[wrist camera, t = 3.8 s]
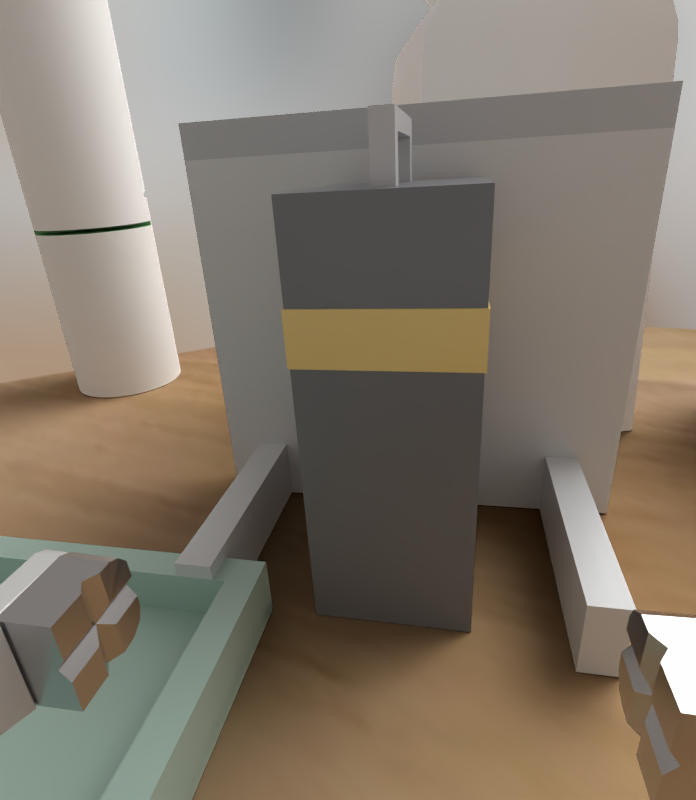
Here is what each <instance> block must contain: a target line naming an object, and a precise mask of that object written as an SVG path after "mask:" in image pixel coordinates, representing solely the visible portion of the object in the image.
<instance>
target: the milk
mask: <svg viewBox="0 0 696 800" xmlns="http://www.w3.org/2000/svg"><path fill="white" fill-rule="evenodd" d="M424 1H425V2H426V3H427V4H428V5H429V6H430V7H431V9H430V10H429V12H428V13H427V14H426V16H425V17H424V18H423V20H422V21H421V22H420V23H419V25H418V26H417V28H416V29H415V31H414V33H413V34H412V36H411V37H410V39H409V40H408V42H407V44H406V45H405V46H404V48H403V50H402V51H401V53H400V54H399V56H398V58H397V59H396V61H395V68H394V78H393V87H392V104H395V105H403V104H415V103H427V102H439V101H451V100H462V99H474V98H486V97H498V96H510V95H522V94H533V93H545V92H557V91H569V90H581V89H593V88H604V87H616V86H628V85H640V84H652V83H664V82H673V77H674V68H675V59H676V51H677V42H678V19H677V14H676V10H675V6H674V2H673V0H424ZM652 255H653V254H652ZM651 264H652V259H651ZM650 271H651V265H650ZM650 271H649V276H648V282H647V288H646V293H645V299H644V305H643V311H642V316H641V322H640V328H639V333H638V339H637V345H636V350H635V356H634V362H633V367H632V373H631V379H630V384H629V390H628V396H627V401H626V407H625V413H624V418H623V424H622V430H621V431H631V430H632V425H633V417H634V408H635V400H636V391H637V383H638V374H639V366H640V357H641V349H642V340H643V332H644V323H645V314H646V306H647V297H648V289H649V281H650Z"/></svg>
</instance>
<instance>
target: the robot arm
mask: <svg viewBox="0 0 696 800" xmlns="http://www.w3.org/2000/svg"><path fill="white" fill-rule="evenodd" d="M131 576H132V575H131V573H130V570H129V567H128V564H127V561H125V560H122V559H120V558H114V557H107V556H99V555H91V554H83V553H76V552H63V551H55V550H48V549H46V550H43V551H40V552H37V553H35V554H34V555H33V556H32V557H31V558H29V559H28V560H27V561H26V562H25V563H24V564H23V565H22V566H21V567H19V568H18V569H17V570H16V571H15V572H14V573H13V574H12V575H11V576H9V577H8V578H7V579H6V580H5V581H4V582H3V583H2V584H1V585H0V736H1V735H2V734H3V733H5V732H6V731H7V730H9V729H10V728H11V727H13V726H14V725H15V724H17V723H18V722H19V721H21V720H22V719H23V718H25V717H26V716H27V715H29V714H30V713H31V712H33V711H34V710H35V709H36V706H44V707H51V708H59V709H66V710H74V711H81V712H83V711H84V710H85V709H86V707H87V706H88V704H89V703H90V701H91V700H92V698H93V697H94V696H95V694H96V693H97V691H98V690H99V688H100V687H101V686H102V684H103V683H104V681H105V680H106V678H107V677H108V675H109V662H110V661H111V660H113V659H115V658H116V657H118V656H119V655H121V654H122V653H124V652H125V651H126V649H127V648H128V646H129V645H130V643H131V642H132V640H133V639H134V637H135V634H136V631H137V628H138V625H139V622H140V604H139V600H138V596H137V595H136V594H135V593H134V592H133V591H132V590H131V589H130V588H129V587H128V586H127V583H128V582H129V580H130V578H131ZM626 630H627V633H628V636H629V638H630V641H631V644H632V645H630V646H629V647H627V648H626V649H625V650H623V651H622V652H621V657H620V663H619V692H620V697H621V703H622V707H623V711H624V714H625V718H626V721H627V723H628V724H629V725H630V726H631V727H632V729H633V730H634V731H635V732H636V733H637V734H638V735H639V736H640V737H641V738H640V743H639V747H638V751H637V759H638V762H639V765H640V769H641V772H642V775H643V778H644V782H645V785H646V788H647V792H648V795H649V798H650V800H696V615H690V614H679V613H668V612H657V611H646V610H635V609H634V610H633V611H632V613H631V614H630V616H629V620H628V624H627V628H626Z"/></svg>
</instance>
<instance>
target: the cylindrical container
mask: <svg viewBox="0 0 696 800" xmlns="http://www.w3.org/2000/svg"><path fill="white" fill-rule="evenodd" d="M0 113H1V117H2V120H3V124H4V128H5V131H6V135H7V138H8V141H9V145H10V149H11V152H12V156H13V158H14V163H15V166H16V169H17V173H18V176H19V180H20V183H21V187H22V190H23V193H24V197H25V201H26V204H27V208H28V211H29V215H30V218H31V222H32V225H33V229H34V232H35V236H36V239H37V243H38V246H39V250H40V253H41V257H42V260H43V263H44V267H45V270H46V274H47V278H48V281H49V284H50V288H51V292H52V295H53V299H54V302H55V305H56V309H57V313H58V316H59V320H60V323H61V327H62V330H63V334H64V337H65V340H66V344H67V347H68V351H69V355H70V358H71V362H72V365H73V368H74V372H75V375H76V379H77V382H78V386H79V389H80V391H81V392H82V393H83V394H85V395H88V396H92V397H108V398H109V397H122V396H129V395H134V394H139V393H143V392H147V391H150V390H153V389H156V388H159V387H162V386H164V385H166V384H168V383H170V382H172V381H173V380H175V379H176V378H177V377H178V376H179V374H180V372H181V370H180V365H179V360H178V355H177V350H176V345H175V340H174V335H173V330H172V324H171V319H170V314H169V309H168V304H167V299H166V294H165V290H164V284H163V279H162V274H161V269H160V264H159V259H158V254H157V249H156V244H155V239H154V234H153V229H152V223H151V218H150V214H149V209H148V204H147V198H146V196H144V195H143V192H145V188H144V183H143V178H142V173H141V168H140V163H139V158H138V153H137V148H136V143H135V138H134V133H133V128H132V123H131V117H130V112H129V107H128V102H127V98H126V93H125V87H124V82H123V77H122V72H121V67H120V62H119V57H118V52H117V47H116V42H115V37H114V32H113V27H112V22H111V17H110V12H109V7H108V2H107V0H0Z"/></svg>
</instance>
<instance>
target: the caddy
mask: <svg viewBox="0 0 696 800" xmlns="http://www.w3.org/2000/svg"><path fill="white" fill-rule="evenodd" d="M368 130H369V158H370V182H368V183H350V184H332V185H324V186H319V187H313V188H307V189H301V190H295V191H289V192H283V193H277V194H271V198H272V207H273V217H274V226H275V235H276V245H277V254H278V263H279V273H280V282H281V291H282V301H283V308H282V309H281V315H282V324H283V333H284V343H285V352H286V361H287V369H290V375H291V385H292V394H293V403H294V413H295V422H296V431H297V441H298V450H299V459H300V469H301V478H302V487H303V497H304V506H305V515H306V525H307V534H308V543H309V553H310V562H311V571H312V581H313V590H314V599H315V609H316V614H319V615H327V616H336V617H344V618H353V619H362V620H370V621H379V622H387V623H396V624H404V625H413V626H422V627H430V628H439V629H447V630H456V631H465V632H471V616H472V598H473V579H474V561H475V543H476V524H477V506H478V487H479V469H480V451H481V432H482V414H483V396H484V377H485V373H487V364H488V346H489V328H490V310H491V308H490V303H489V285H490V267H491V249H492V230H493V212H494V194H495V182H493V181H491V180H490V179H488V178H487V177H485V176H477V177H459V178H441V179H423V180H412V118H410V117H409V116H408V115H407V114H406V113H405V112H404V111H402V110H401V109H400V108H399V107H398V106H397V105H395V104H385V105H373V106H368Z"/></svg>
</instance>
